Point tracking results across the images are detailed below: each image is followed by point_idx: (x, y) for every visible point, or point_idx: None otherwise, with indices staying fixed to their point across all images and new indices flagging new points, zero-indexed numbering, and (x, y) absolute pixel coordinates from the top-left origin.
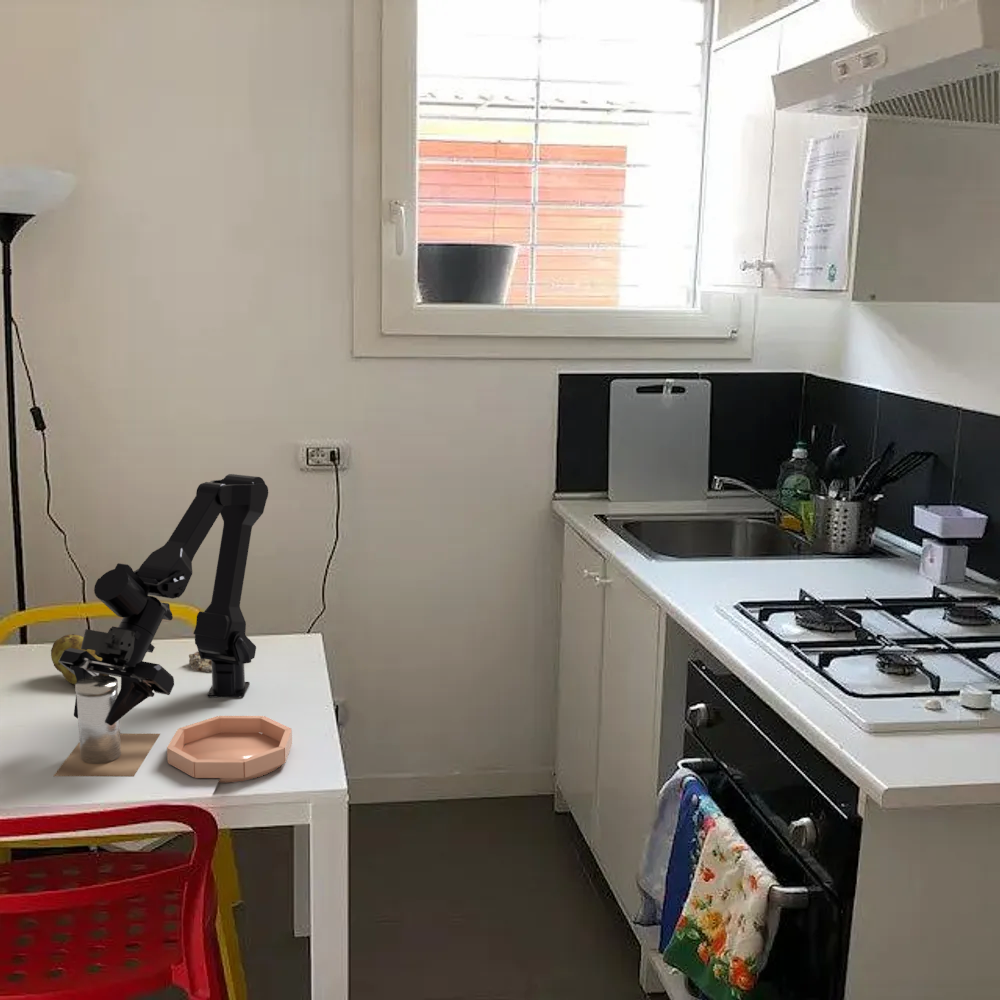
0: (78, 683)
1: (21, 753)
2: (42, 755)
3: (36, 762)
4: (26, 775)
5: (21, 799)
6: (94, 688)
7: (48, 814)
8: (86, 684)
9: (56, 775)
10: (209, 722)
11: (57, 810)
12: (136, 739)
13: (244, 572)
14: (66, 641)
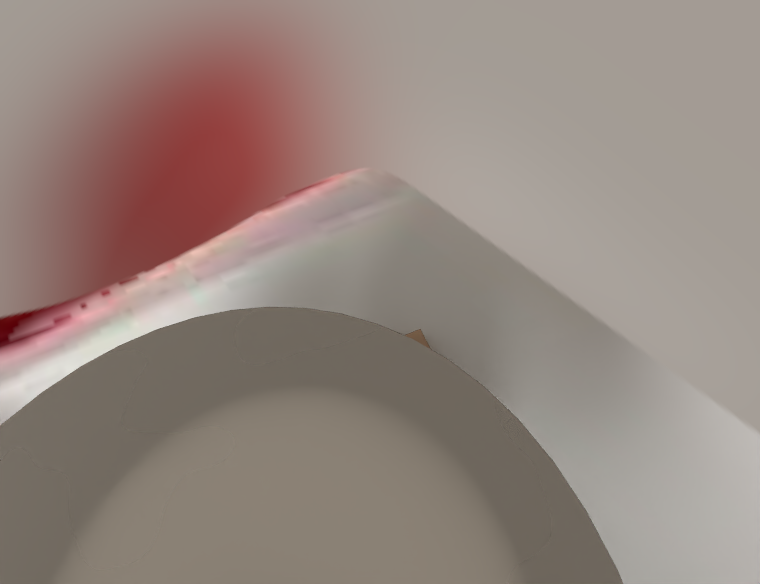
0: (512, 494)
1: (753, 485)
2: (654, 506)
3: (607, 434)
4: (536, 334)
5: (416, 223)
6: (119, 402)
7: (295, 198)
8: (339, 508)
9: (412, 336)
10: None
11: (287, 218)
12: None
13: None
14: None
